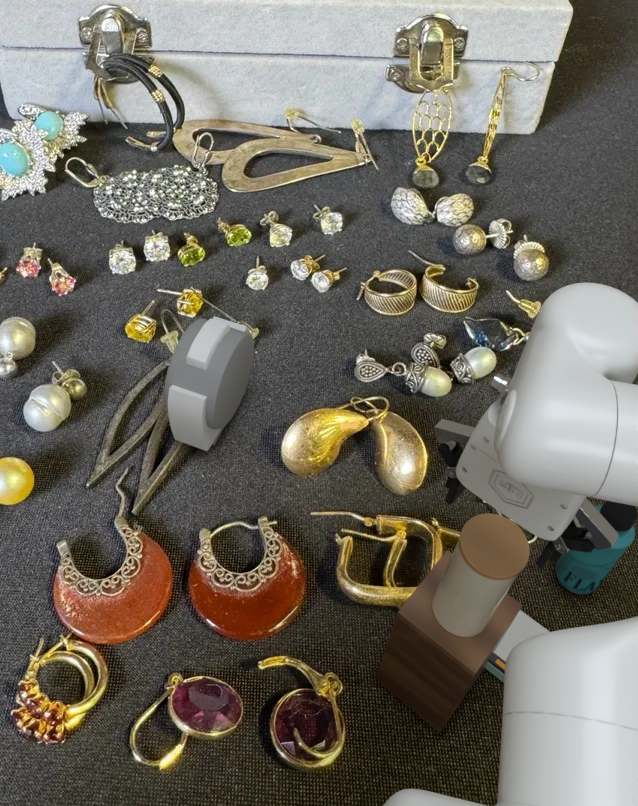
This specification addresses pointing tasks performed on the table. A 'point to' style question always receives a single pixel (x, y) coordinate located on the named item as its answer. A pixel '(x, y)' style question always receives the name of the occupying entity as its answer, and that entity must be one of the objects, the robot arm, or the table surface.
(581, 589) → the beverage bottle
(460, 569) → the canister
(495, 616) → the wooden block
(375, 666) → the table surface
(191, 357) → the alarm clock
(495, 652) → the scale
